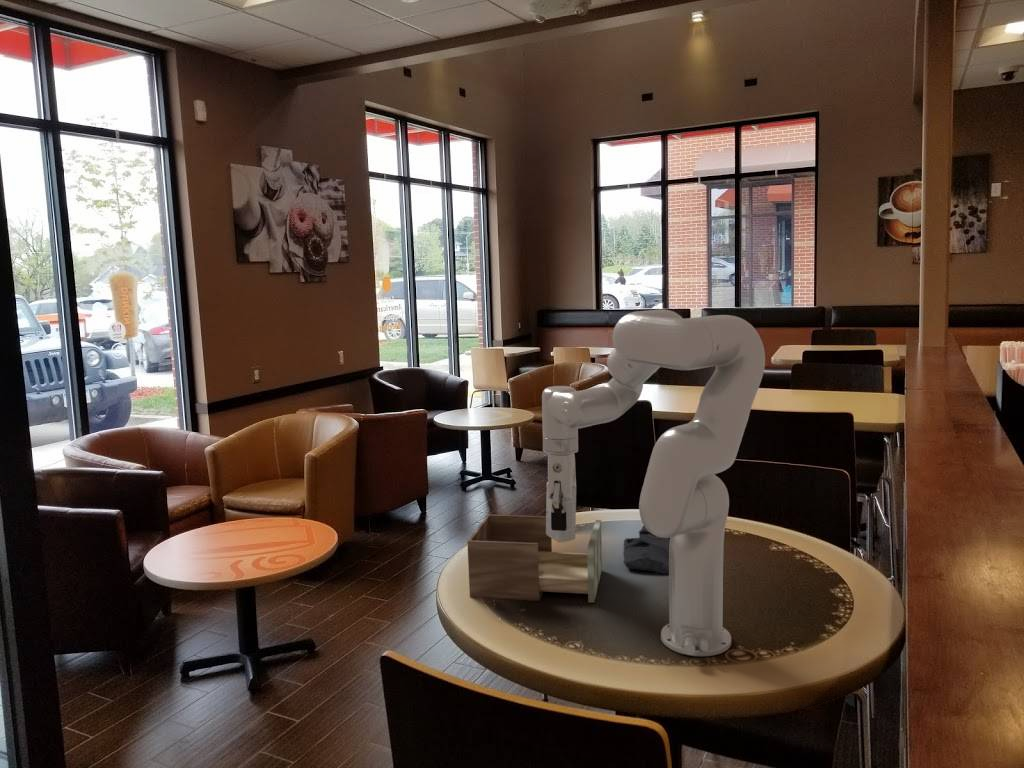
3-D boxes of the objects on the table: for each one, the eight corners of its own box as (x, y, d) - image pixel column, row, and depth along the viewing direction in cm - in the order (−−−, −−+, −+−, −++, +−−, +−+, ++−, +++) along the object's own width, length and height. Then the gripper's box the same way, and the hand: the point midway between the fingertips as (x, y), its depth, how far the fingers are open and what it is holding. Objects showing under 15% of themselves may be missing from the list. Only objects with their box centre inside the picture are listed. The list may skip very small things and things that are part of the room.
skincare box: (545, 535, 167) (544, 481, 165) (562, 531, 169) (561, 478, 167) (559, 543, 162) (558, 488, 160) (577, 539, 164) (576, 485, 162)
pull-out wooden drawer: (594, 602, 156) (593, 548, 155) (522, 598, 160) (520, 545, 158) (601, 569, 174) (601, 519, 172) (537, 566, 177) (536, 517, 175)
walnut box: (539, 600, 159) (537, 544, 157) (469, 596, 162) (467, 541, 160) (552, 568, 176) (550, 516, 175) (489, 565, 179) (487, 514, 178)
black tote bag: (613, 573, 173) (613, 553, 172) (625, 540, 194) (625, 522, 193) (682, 578, 169) (682, 558, 168) (687, 544, 190) (687, 526, 189)
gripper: (572, 454, 153) (573, 538, 156) (582, 435, 170) (583, 511, 173) (536, 453, 155) (537, 537, 157) (549, 434, 171) (550, 510, 174)
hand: (561, 523), depth 165 cm, fingers closed on skincare box, 7 cm apart
